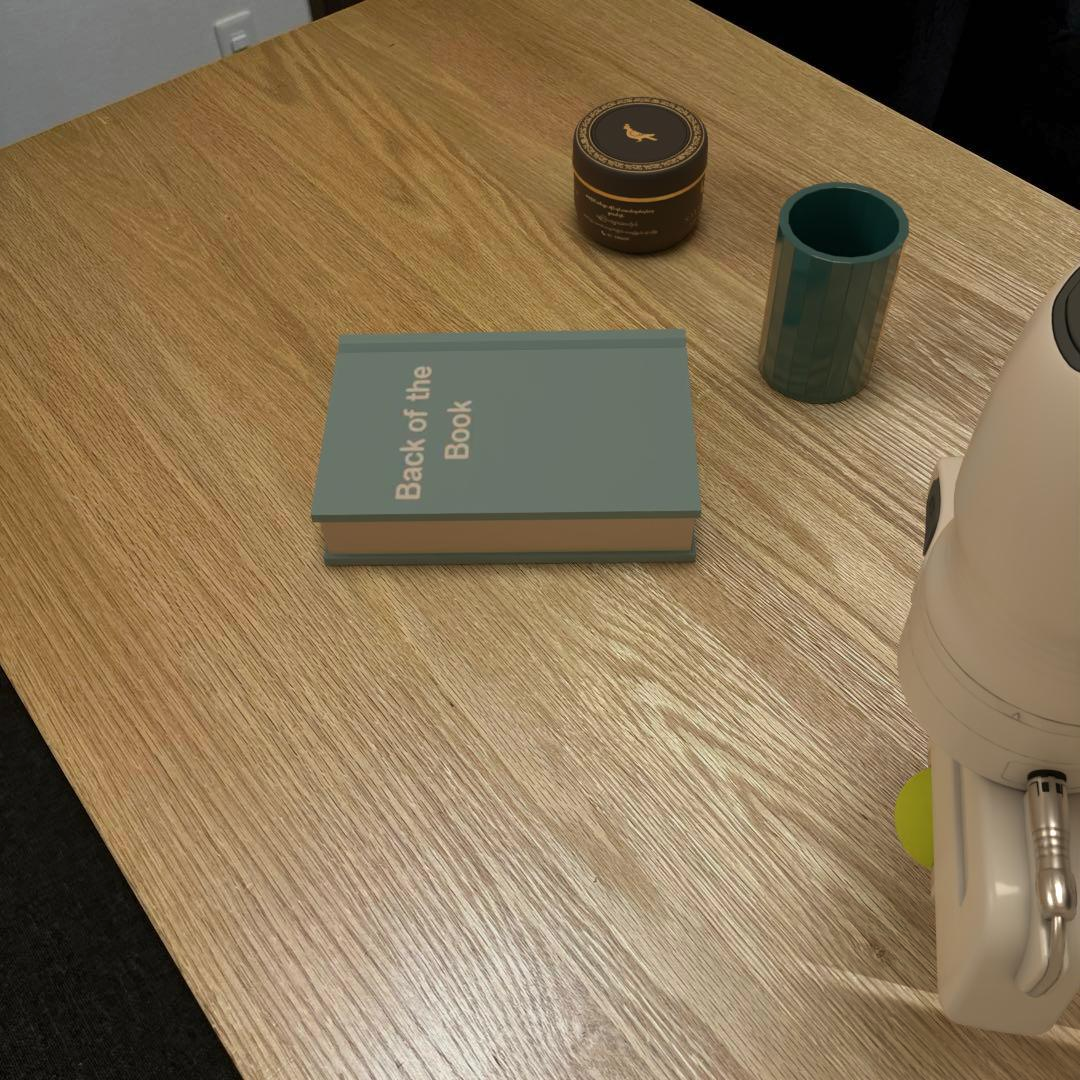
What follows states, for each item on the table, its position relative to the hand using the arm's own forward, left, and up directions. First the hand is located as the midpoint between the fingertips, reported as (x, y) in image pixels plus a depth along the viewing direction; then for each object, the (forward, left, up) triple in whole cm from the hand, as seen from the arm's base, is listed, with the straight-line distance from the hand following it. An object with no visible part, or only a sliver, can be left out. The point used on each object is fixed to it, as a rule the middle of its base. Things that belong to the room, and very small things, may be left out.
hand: (948, 824), depth 51 cm
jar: (+19, -52, -11) cm, 56 cm away
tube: (+5, -38, -10) cm, 40 cm away
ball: (0, 0, 0) cm, 0 cm away
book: (+24, -26, -11) cm, 37 cm away
